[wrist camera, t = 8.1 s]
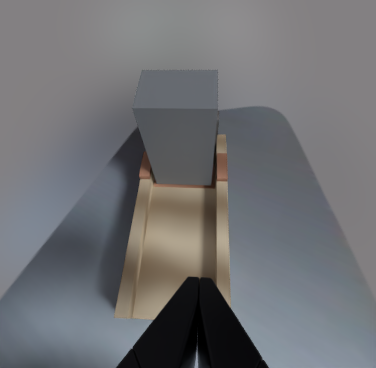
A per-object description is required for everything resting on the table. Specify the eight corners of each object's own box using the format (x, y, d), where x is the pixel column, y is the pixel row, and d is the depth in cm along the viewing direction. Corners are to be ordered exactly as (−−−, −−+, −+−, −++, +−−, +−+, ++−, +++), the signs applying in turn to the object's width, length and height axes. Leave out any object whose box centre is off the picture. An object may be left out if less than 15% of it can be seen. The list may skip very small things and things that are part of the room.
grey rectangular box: (211, 185, 23) (217, 108, 15) (156, 183, 24) (132, 108, 15) (211, 153, 25) (217, 69, 17) (161, 152, 26) (141, 70, 17)
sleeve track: (229, 324, 19) (241, 329, 13) (123, 317, 20) (91, 318, 14) (224, 151, 28) (231, 110, 22) (152, 150, 28) (140, 109, 23)
